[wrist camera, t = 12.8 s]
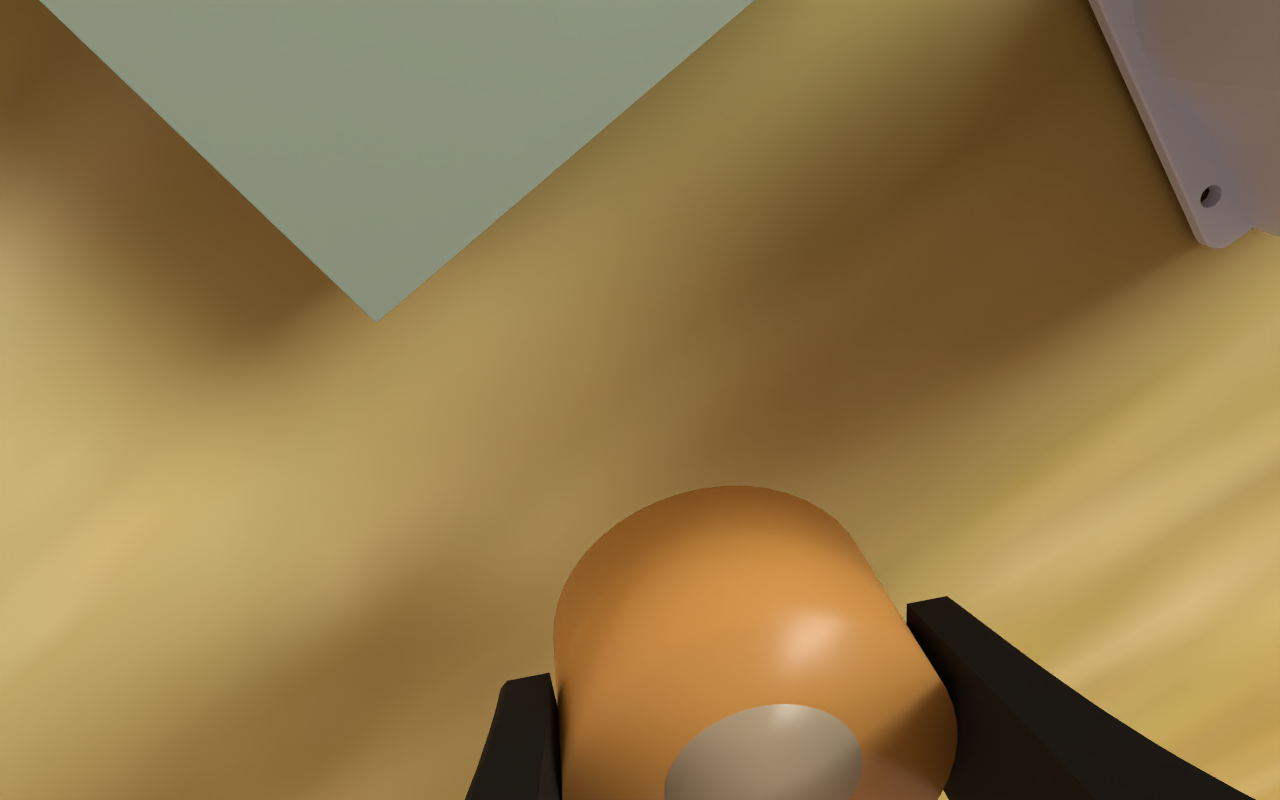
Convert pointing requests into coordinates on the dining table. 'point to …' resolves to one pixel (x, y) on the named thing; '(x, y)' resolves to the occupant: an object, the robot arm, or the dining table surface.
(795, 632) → the orange dome grey spot
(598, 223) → the dining table surface
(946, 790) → the robot arm
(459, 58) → the lid
